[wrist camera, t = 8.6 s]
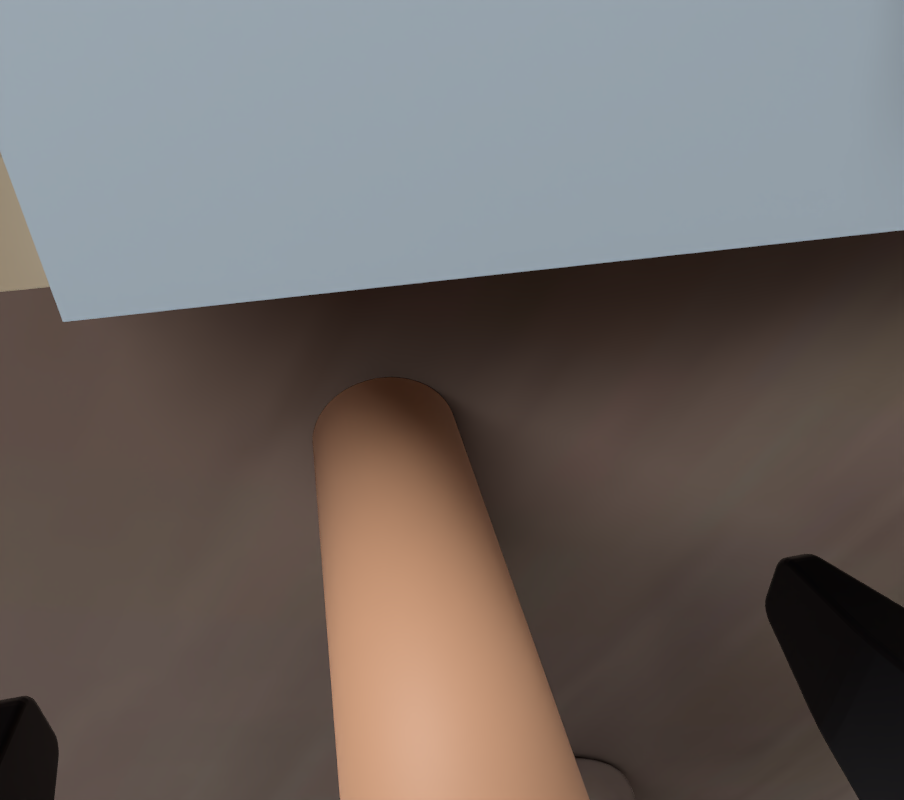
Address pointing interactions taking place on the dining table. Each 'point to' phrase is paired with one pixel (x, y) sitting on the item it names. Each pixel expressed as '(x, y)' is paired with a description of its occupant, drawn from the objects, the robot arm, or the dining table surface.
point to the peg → (425, 614)
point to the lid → (434, 138)
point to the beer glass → (604, 781)
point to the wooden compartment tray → (16, 243)
